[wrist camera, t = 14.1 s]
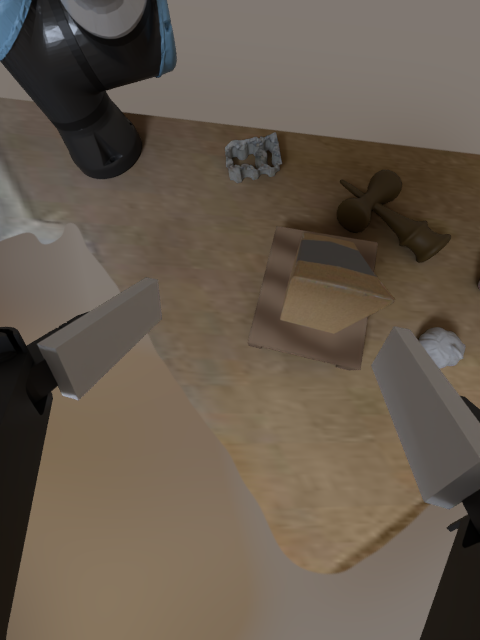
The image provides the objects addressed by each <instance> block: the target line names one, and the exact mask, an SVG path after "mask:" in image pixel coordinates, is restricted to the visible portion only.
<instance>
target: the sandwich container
mask: <svg viewBox="0 0 480 640" xmlns="http://www.w3.org/2000/svg"><path fill="white" fill-rule="evenodd" d="M394 300H395V298H394V297H393V296H392V295H391V294H390V292H389V291H388V290H387V289H386V287H385V286H384V285H383V284H382V283H381V281H380V280H379V279H378V278H377V276H376V275H375V274H374V272H373V271H372V270H371V268H370V267H369V265H368V264H367V262H366V261H365V259H364V258H363V256H362V255H361V254H360V252H359V251H358V249H357V247H356V246H355V244H354V243H353V242H350V241H345V240H341V239H337V238H332V237H328V236H322V235H315V234H309V233H303V234H302V237H301V240H300V244H299V247H298V250H297V254H296V257H295V260H294V264H293V267H292V271H291V274H290V278H289V281H288V286H287V289H286V294H285V298H284V303H283V308H282V312H281V317H280V320H283V321H287V322H290V323H294V324H298V325H302V326H306V327H309V328H313V329H317V330H321V331H325V332H329V333H333V334H335V333H337V332H339V331H340V330H342V329H344V328H346V327H348V326H350V325H352V324H354V323H356V322H358V321H360V320H361V319H363V318H365V317H367V316H369V315H371V314H373V313H375V312H377V311H379V310H381V309H382V308H384V307H386V306H388V305H390V304H392V303H393V302H394Z"/></svg>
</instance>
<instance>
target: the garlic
mask: <svg viewBox="0 0 480 640" xmlns="http://www.w3.org/2000/svg"><path fill="white" fill-rule="evenodd" d="M419 342H420V343H421V345H422V346H423V347H424V349H425V350H426V352H427V353H428V354H429V356H430V357H431V358H432V360H433V361H434V362H435V364H436V365H437V366H438V368H443V367H446V366H454V365H456V364H457V363H458V361H459V360H460V359H463V354H464V351H465V345H464V344H463V343H462V342H461V340H460V339H459V338H458V336H457V335H456V334H455V333H454V332H452V331H446V330H444V329H443V328H440V327H435V328H431V329H428V330H427V331H426V332H425V333H424V334H422V335H421V336H420V337H419Z"/></svg>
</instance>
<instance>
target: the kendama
mask: <svg viewBox="0 0 480 640" xmlns="http://www.w3.org/2000/svg"><path fill="white" fill-rule="evenodd" d="M340 183H341V184H342V185H343V186H344V187H345V188H346V189H347V190H349V191H350V192H351V193H352V194H354V195H355V196H356V197H357V198H350V199H347V200H345V201H343V202H342V203H341V204H340V205H339V207H338V210H337V219H338V221H339V222H340V224H341V225H342V226H343V227H344V228H345V229H347V230H349V231H350V232H354V233H358V232H362V231H363V230H364V229H365V228H366V227H367V226H368V224H369V222H370V215H371V210H373V211H374V212H375V213H376V214H377V215H378V216H380V217H381V218H382V219H383V220H384V221H385V222H386V223H387V225H388V226H389V227H390V228H391V229H392V230H393V231H394V232H395V233H396V235H397V236H398V238H399V240H400V243H399V245H400V246H406V247H408V248H410V249H411V250H412V251H413V252H414V254H415V255H416V261H417V262H418V263H420V262H424V261H426V260H428V259H430V258H431V257H432V256H434V255H435V254H436V253H438V252H439V251H440V250H441V249H442V248H443V247H444V246H446V245H447V243H448V242H449V241H450V239H451V235H450V234H444V235H441V234H438V233H435V232H434V231H432V230H431V229H430V228H429V227H428V225H427V221H421V222H418V221H414V220H411V219H409V218H406V217H404V216H402V215H400V214H398V213H396V212H394V211H392V210H390V209H388V208H387V207H385V206H383V205H381V204H385V203H388V202H391V201H393V200H394V199H395V198H396V197H397V196H398V195H399V193H400V191H401V188H402V182H401V180H400V177H399V176H398V175H397V174H396V173H394V172H392V171H390V170H381V171H379V172H377V173H376V174H375V175H374V176H373V177H372V178H371V180H370V183H369V185H368V190H367V193H366V194H364V193H363V192H361V191H360V190H358V189H357V188H355V187H354V186H352V185H351V184H349V183H348V182H346V181H344V180H340Z"/></svg>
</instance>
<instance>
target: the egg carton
mask: <svg viewBox="0 0 480 640" xmlns="http://www.w3.org/2000/svg"><path fill="white" fill-rule="evenodd" d="M267 150H269V151H270V152H271V153H272V164H273V165H274V166H275V167H271V166H269V165H268V164H267V152H266V151H267ZM225 151H226V153H225V154H226V168H227V167H228V170H229V176H230V180H234V181H236V183H240V182H242V180H243V179H244V178H245V177H251V178H252V179H253V180H255V179H258V177H259V176H260V175H261V174H268V175H269V177H273V176H275V173H276V172H277V171H279V170H280V164H282V161H281V155H280V149H279V144H278V139H277V135H276V133H273V134H271V135H268V136H266V137H262V136H261V137H260V138H257V137H254V138H251V139H246V140H233V141H231V142H230V143H229V144H228V145H227V146H226V148H225ZM248 154H254V156H255V165H256V168H257V169H258V170H257V169H255V168H254V167H253V166H252V165H248V164H242V165H241V166H239V165H234V164H233V161H232V158H233V157H237V158H238V159H239V160H245V159H246V158H247V157H248Z"/></svg>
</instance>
